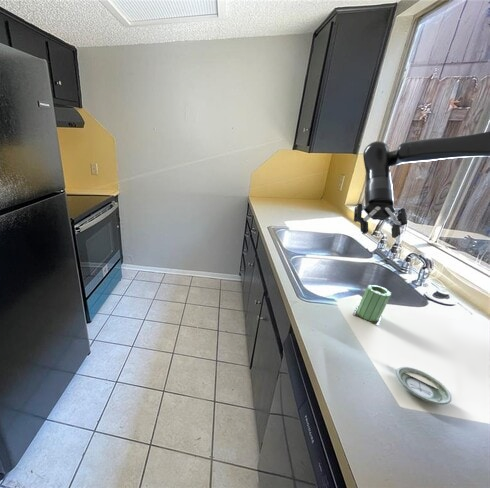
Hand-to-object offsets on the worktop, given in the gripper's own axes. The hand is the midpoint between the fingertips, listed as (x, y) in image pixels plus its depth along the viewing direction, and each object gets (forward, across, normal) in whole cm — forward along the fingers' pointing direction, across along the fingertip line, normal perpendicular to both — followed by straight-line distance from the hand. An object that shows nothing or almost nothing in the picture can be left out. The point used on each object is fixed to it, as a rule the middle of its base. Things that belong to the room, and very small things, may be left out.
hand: (380, 235), depth 85 cm
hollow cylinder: (+25, 0, +9) cm, 27 cm away
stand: (+26, 0, +10) cm, 28 cm away
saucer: (+45, +2, -8) cm, 46 cm away
